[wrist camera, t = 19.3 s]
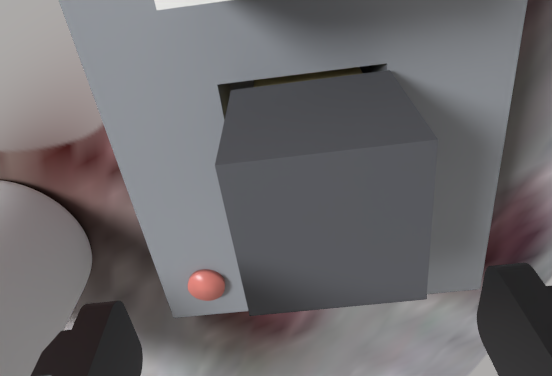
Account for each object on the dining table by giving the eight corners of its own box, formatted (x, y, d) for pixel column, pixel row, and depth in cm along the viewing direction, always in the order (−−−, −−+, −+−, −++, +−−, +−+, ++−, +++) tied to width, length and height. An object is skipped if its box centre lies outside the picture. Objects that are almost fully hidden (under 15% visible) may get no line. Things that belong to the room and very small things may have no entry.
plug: (257, 177, 20) (249, 315, 13) (236, 62, 17) (214, 165, 11) (373, 163, 20) (426, 299, 13) (372, 44, 17) (438, 139, 10)
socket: (184, 270, 24) (172, 322, 21) (73, -82, 15) (25, -77, 12) (455, 243, 23) (482, 294, 20) (500, -146, 14) (559, -158, 11)
